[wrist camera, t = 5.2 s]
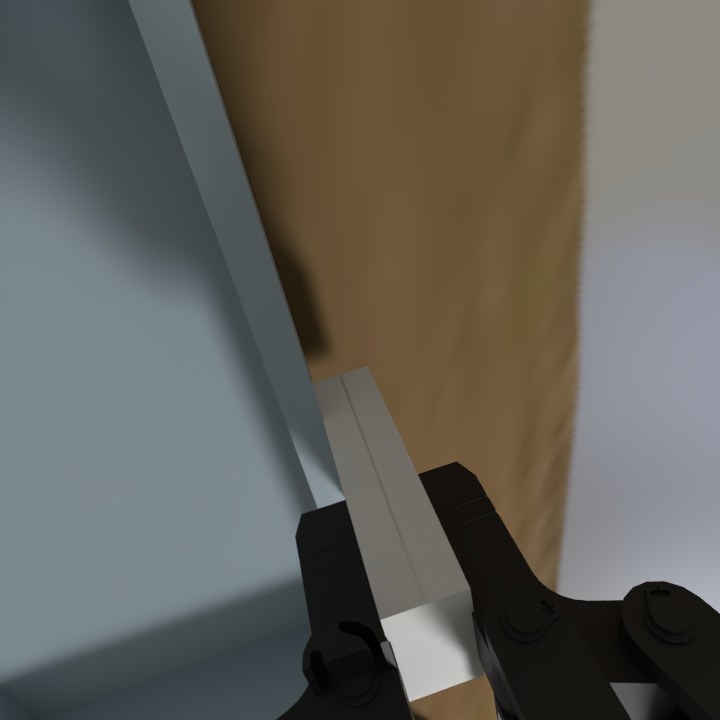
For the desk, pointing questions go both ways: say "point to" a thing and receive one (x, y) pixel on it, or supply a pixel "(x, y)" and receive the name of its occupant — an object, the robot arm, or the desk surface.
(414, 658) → the robot arm
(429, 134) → the desk surface
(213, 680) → the tray
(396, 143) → the desk surface
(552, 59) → the desk surface
